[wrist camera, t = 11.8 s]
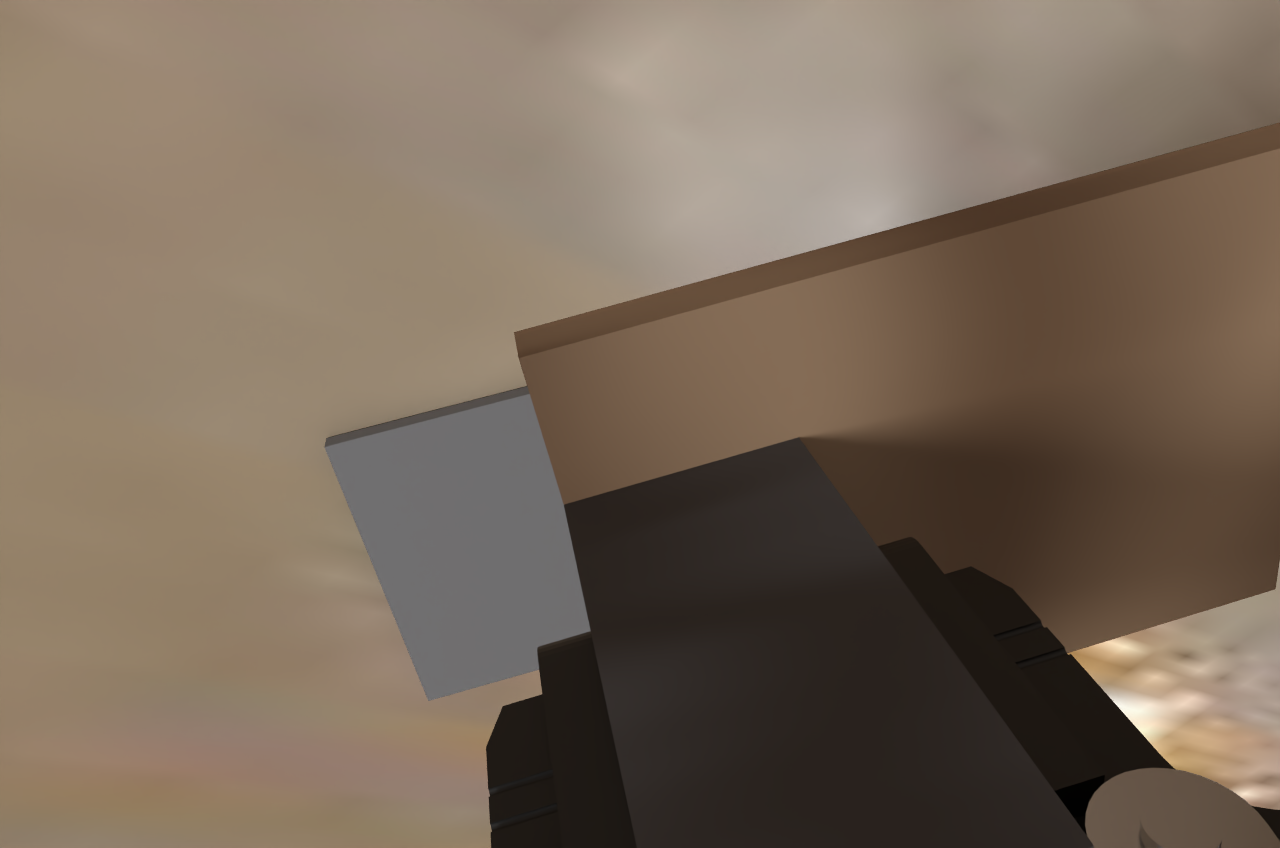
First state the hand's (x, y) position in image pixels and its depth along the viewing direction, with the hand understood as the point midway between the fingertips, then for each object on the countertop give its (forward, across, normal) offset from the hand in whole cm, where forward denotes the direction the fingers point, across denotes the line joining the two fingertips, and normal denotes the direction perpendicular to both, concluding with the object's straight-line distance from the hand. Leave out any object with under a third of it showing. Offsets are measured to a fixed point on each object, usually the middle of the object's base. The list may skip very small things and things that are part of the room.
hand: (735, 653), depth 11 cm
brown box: (+2, -4, 0) cm, 4 cm away
